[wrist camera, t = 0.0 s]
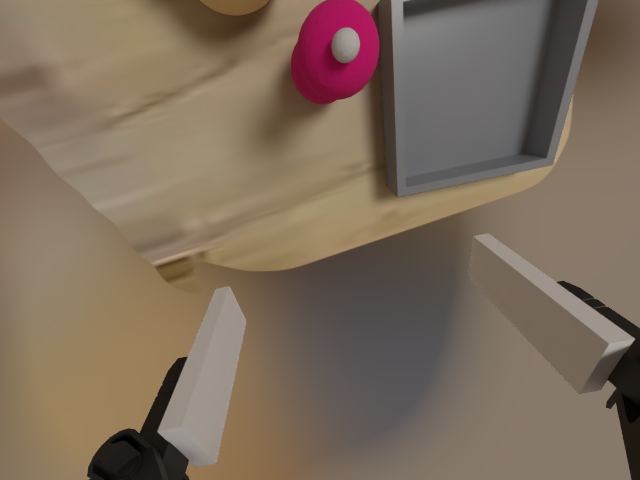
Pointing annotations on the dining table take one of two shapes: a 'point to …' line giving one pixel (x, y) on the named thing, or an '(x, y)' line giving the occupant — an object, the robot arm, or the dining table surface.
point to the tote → (475, 86)
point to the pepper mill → (335, 51)
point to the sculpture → (235, 6)
